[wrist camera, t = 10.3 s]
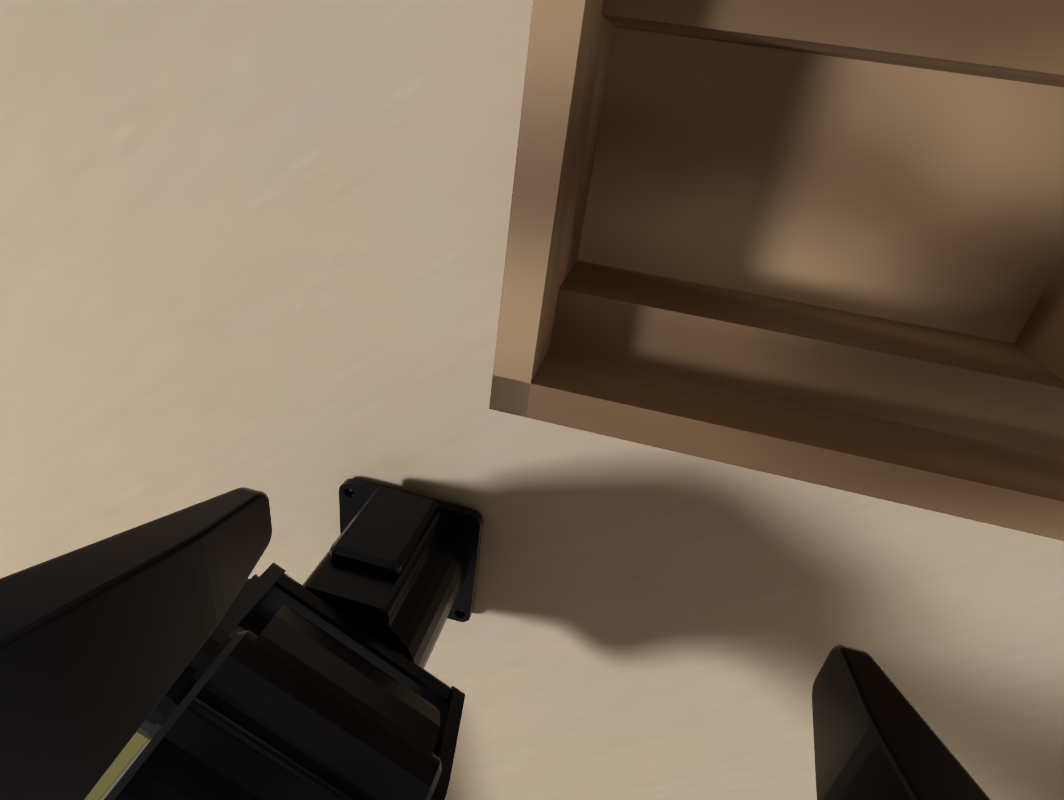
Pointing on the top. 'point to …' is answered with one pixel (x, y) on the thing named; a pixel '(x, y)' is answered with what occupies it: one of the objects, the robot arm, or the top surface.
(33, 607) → the robot arm
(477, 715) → the top surface
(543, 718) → the top surface
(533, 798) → the top surface
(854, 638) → the top surface
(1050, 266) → the walnut box
